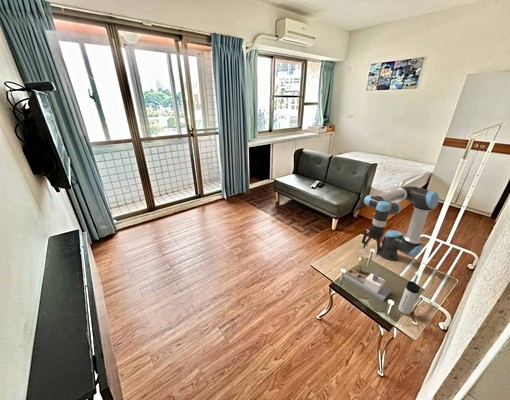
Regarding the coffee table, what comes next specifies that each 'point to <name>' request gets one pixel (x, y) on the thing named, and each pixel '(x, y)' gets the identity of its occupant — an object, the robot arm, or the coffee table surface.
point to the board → (359, 281)
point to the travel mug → (408, 298)
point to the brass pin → (360, 264)
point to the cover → (374, 282)
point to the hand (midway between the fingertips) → (369, 255)
